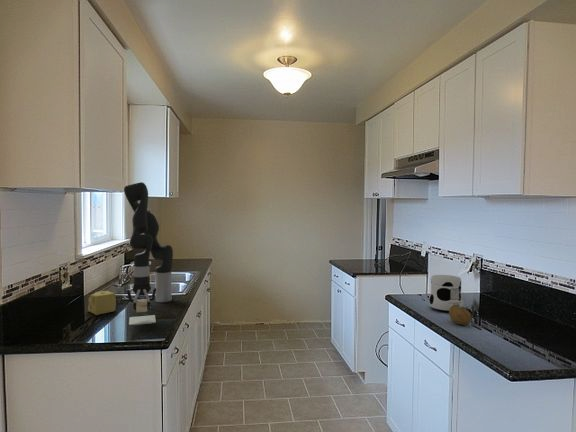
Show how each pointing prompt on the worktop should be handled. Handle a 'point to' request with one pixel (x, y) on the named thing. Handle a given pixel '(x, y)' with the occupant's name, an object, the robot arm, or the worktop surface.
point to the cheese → (102, 302)
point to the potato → (460, 315)
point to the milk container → (445, 292)
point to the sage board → (142, 320)
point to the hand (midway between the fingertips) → (141, 309)
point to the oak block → (141, 305)
